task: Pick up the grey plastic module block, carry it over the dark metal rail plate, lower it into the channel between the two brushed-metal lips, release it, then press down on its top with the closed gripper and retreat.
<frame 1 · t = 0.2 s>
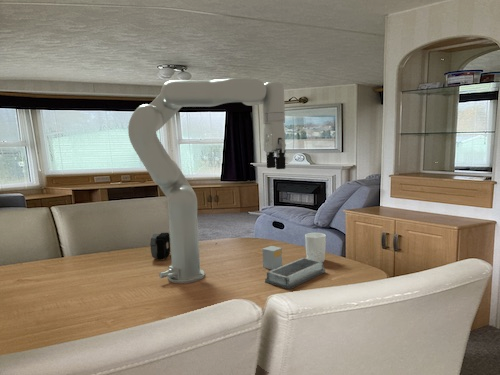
hand: (275, 168, 127), 36 cm above the table, tool pointing down, fingers open, 9 cm apart
module: (272, 266, 133), on the table
rail: (296, 276, 122), on the table
white cup: (315, 261, 139), on the table
cpu cooler: (161, 258, 149), on the table
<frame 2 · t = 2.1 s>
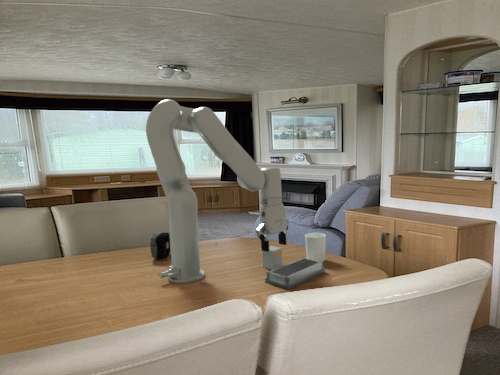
hand: (274, 247, 132), 7 cm above the table, tool pointing down, fingers open, 9 cm apart
nothing on the table moved.
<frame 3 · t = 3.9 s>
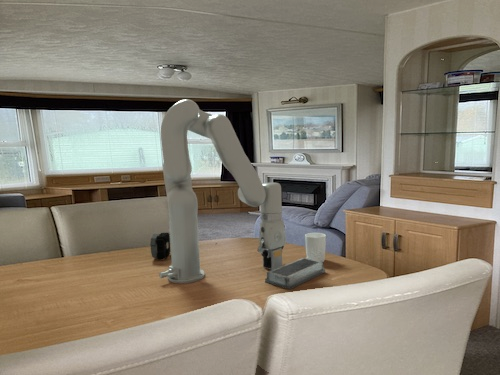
hand: (272, 265, 133), 1 cm above the table, tool pointing down, fingers closed on module, 5 cm apart
module: (272, 266, 133), on the table, touching gripper
everything else where it was.
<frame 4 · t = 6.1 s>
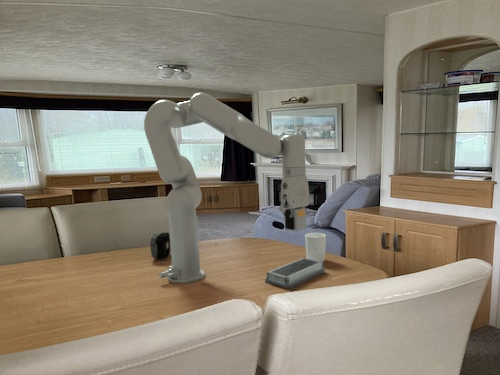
hand: (295, 226, 120), 17 cm above the table, tool pointing down, fingers closed on module, 5 cm apart
module: (295, 228, 120), point 17 cm above the table, touching gripper
everything else where it was.
when the fingers open (3 cm above the table, at t = 8.4 s): module drops 1 cm, resting on rail.
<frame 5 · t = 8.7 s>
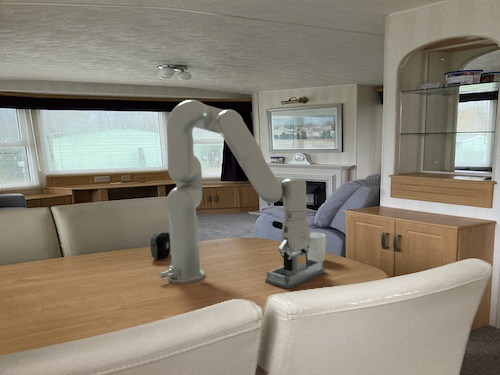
hand: (295, 266, 121), 4 cm above the table, tool pointing down, fingers open, 7 cm apart
module: (295, 274, 122), point 1 cm above the table, touching rail
everything else where it was.
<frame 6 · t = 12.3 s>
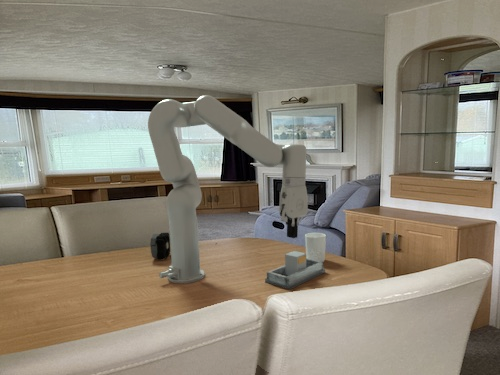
hand: (292, 237, 120), 14 cm above the table, tool pointing down, fingers closed
nothing on the table moved.
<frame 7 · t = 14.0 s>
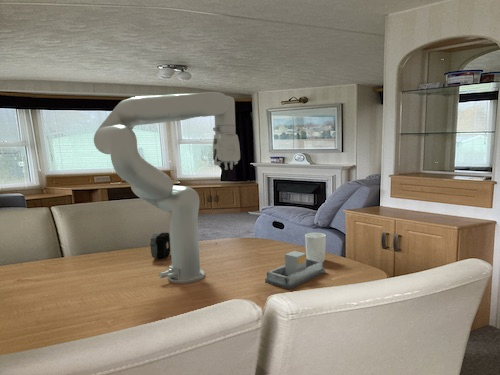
hand: (227, 180, 135), 32 cm above the table, tool pointing down, fingers closed
nothing on the table moved.
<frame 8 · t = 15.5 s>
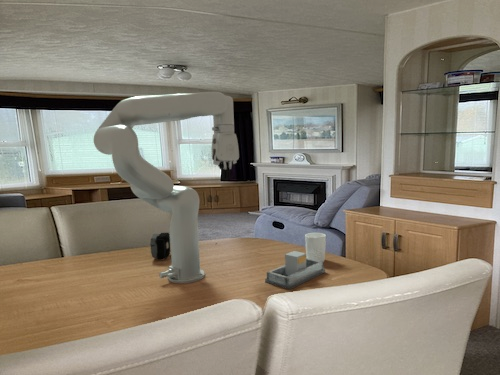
hand: (225, 179, 136), 32 cm above the table, tool pointing down, fingers closed
nothing on the table moved.
at the end: module inside the target area on the rail (0.0 cm from its centre), point 1.0 cm above the rail's base; module tilted 0°; the gripper is holding nothing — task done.
